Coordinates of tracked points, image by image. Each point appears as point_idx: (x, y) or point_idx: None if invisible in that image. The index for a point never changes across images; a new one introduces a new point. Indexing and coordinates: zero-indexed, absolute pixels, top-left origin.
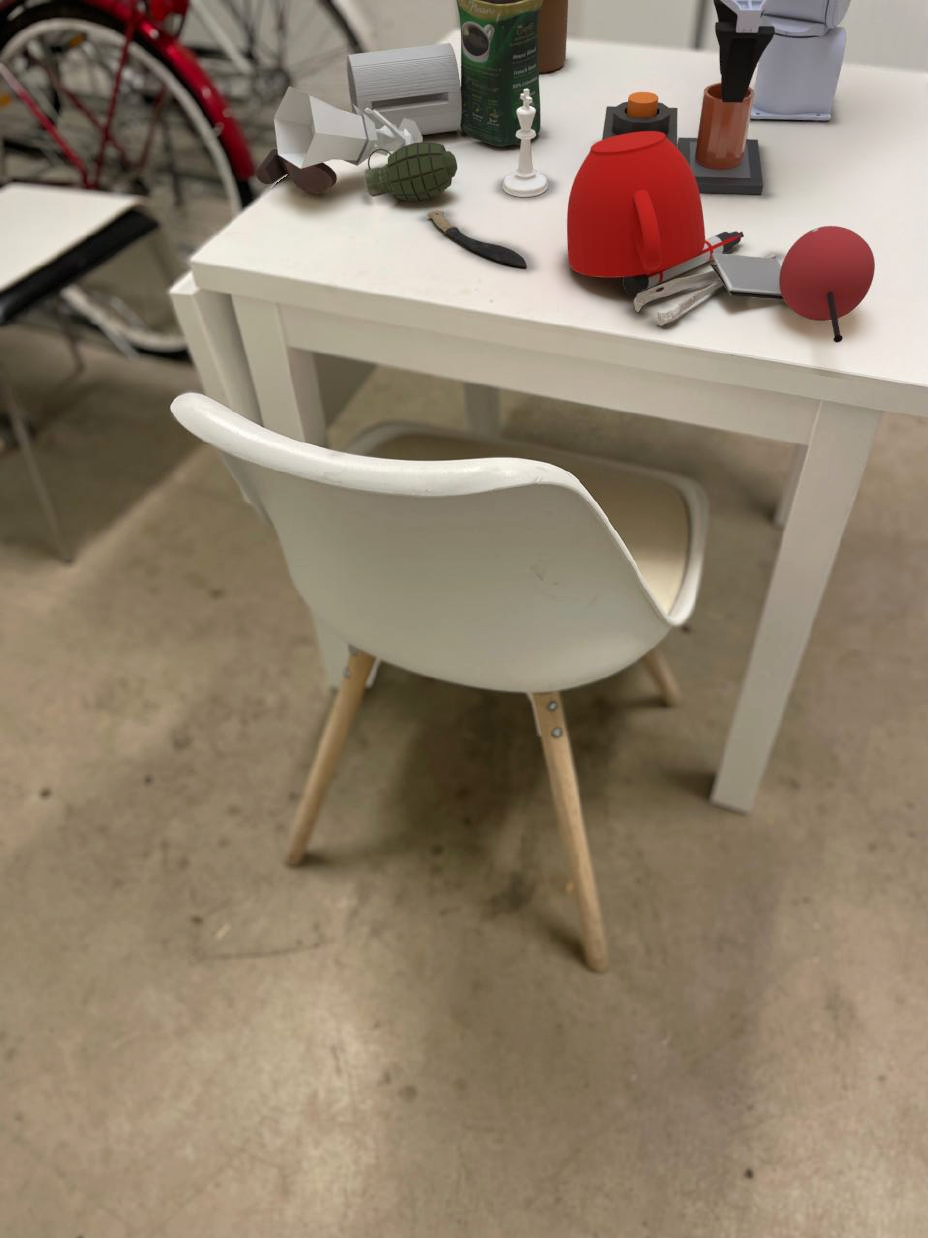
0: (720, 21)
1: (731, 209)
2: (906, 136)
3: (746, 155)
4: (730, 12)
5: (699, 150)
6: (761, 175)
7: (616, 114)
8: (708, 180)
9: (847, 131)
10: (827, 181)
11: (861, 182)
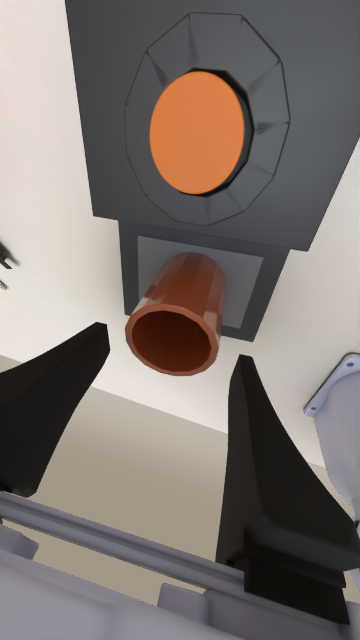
0: (249, 452)
1: (89, 271)
2: None
3: None
4: (243, 493)
5: (173, 261)
6: None
7: (177, 28)
8: (130, 258)
9: None
10: None
11: (161, 384)
